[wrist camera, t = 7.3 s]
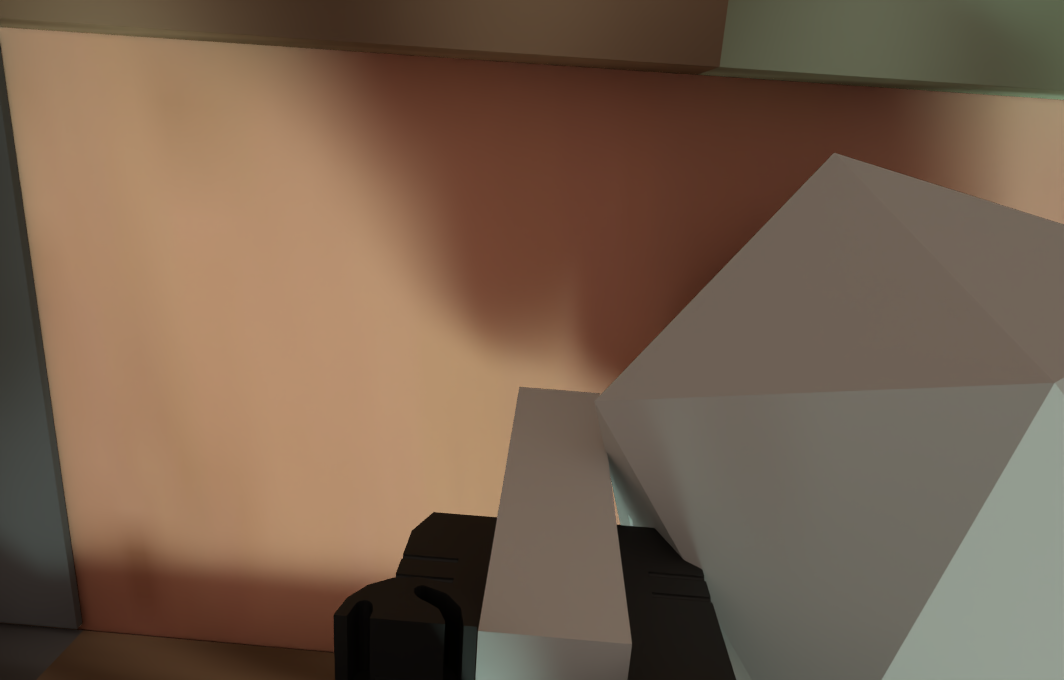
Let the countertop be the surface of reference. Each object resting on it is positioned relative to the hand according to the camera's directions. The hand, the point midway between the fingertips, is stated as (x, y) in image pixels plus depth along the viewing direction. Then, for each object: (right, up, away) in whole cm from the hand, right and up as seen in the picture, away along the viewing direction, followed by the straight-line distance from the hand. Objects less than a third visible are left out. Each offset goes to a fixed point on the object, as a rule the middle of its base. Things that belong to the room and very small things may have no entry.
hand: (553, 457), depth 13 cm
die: (+5, +1, +2) cm, 6 cm away
